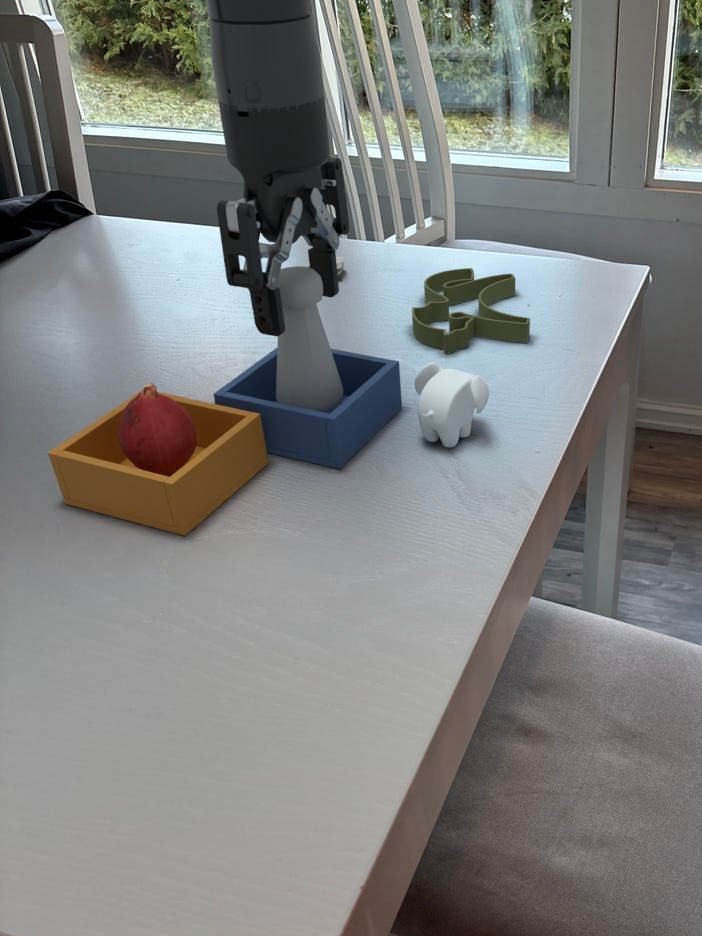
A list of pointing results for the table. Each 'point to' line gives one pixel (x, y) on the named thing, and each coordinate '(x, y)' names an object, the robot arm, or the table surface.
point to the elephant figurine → (448, 402)
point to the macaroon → (339, 264)
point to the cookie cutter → (463, 325)
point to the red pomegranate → (156, 432)
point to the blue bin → (314, 432)
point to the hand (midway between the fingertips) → (299, 313)
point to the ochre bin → (153, 495)
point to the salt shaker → (305, 346)
